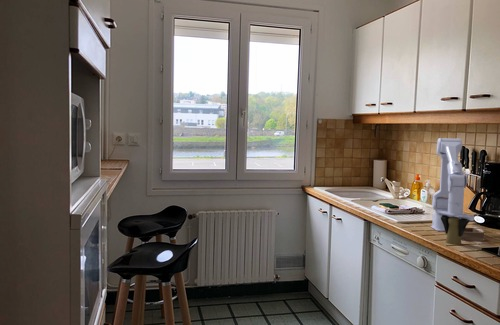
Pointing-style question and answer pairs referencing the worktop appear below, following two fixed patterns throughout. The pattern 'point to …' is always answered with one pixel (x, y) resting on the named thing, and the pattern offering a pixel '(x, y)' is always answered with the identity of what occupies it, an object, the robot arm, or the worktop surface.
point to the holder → (472, 235)
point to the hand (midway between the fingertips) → (453, 234)
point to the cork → (453, 231)
